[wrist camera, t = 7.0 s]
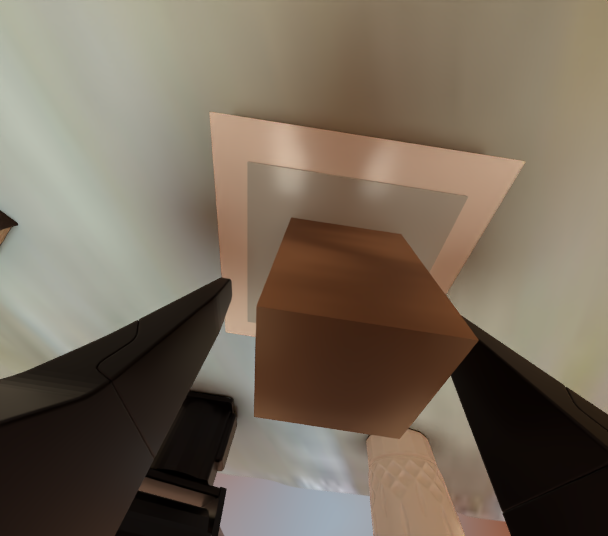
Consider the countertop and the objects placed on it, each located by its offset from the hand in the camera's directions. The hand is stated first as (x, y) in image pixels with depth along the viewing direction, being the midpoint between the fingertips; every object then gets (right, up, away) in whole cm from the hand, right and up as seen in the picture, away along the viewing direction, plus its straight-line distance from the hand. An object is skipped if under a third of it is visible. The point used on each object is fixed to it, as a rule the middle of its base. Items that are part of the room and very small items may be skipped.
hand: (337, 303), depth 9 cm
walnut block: (0, +1, +2) cm, 2 cm away
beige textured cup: (+9, -18, +17) cm, 26 cm away
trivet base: (0, +3, +4) cm, 5 cm away
